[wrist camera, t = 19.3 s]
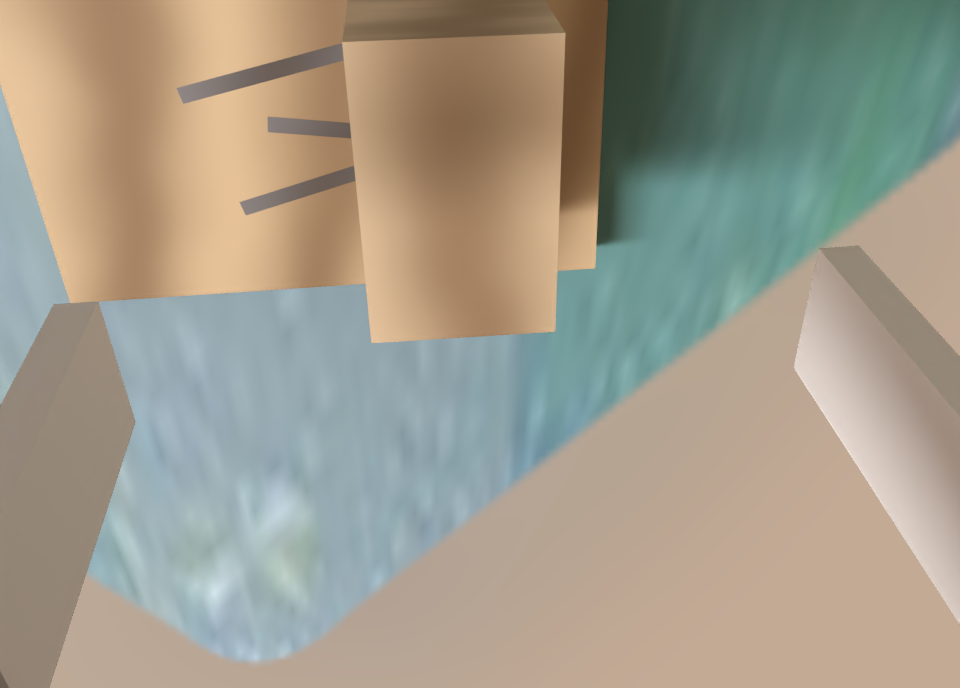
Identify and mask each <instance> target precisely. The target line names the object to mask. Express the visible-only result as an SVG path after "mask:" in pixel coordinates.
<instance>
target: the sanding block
mask: <svg viewBox="0 0 960 688" xmlns="http://www.w3.org/2000/svg"><path fill="white" fill-rule="evenodd" d="M342 47H343V57H344V67H345V77H346V88H347V98H348V108H349V118H350V129H351V139H352V149H353V159H354V169H355V180H356V190H357V200H358V210H359V221H360V231H361V241H362V251H363V262H364V272H365V282H366V292H367V302H368V313H369V323H370V333H371V343H380V342H396V341H413V340H429V339H445V338H461V337H477V336H493V335H509V334H525V333H541V332H555V321H556V292H557V263H558V235H559V206H560V177H561V148H562V119H563V90H564V61H565V31H564V30H563V28H562V27H561V25H560V23H559V22H558V20H557V18H556V17H555V15H554V14H553V12H552V10H551V9H550V7H549V5H548V4H547V2H546V1H545V0H347V8H346V16H345V23H344V31H343V39H342Z"/></svg>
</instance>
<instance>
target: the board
mask: <svg viewBox="0 0 960 688" xmlns="http://www.w3.org/2000/svg"><path fill="white" fill-rule="evenodd" d="M545 1H546V2H547V4H548V5H549V7H550V9H551V10H552V12H553V14H554V15H555V17H556V18H557V20H558V22H559V23H560V25H561V27H562V28H563V30H564V31H565V61H564V90H563V119H562V148H561V177H560V206H559V235H558V263H557V271H561V270H576V269H591V268H595V261H596V240H597V220H598V199H599V178H600V158H601V137H602V117H603V96H604V76H605V55H606V34H607V14H608V0H545ZM346 8H347V0H0V84H1V88H2V91H3V94H4V97H5V100H6V103H7V106H8V109H9V113H10V116H11V119H12V122H13V125H14V128H15V131H16V134H17V138H18V141H19V144H20V147H21V150H22V153H23V156H24V159H25V163H26V166H27V169H28V172H29V175H30V178H31V181H32V185H33V188H34V191H35V194H36V197H37V200H38V203H39V206H40V210H41V213H42V216H43V219H44V222H45V225H46V228H47V231H48V235H49V238H50V241H51V244H52V247H53V250H54V253H55V256H56V260H57V263H58V266H59V269H60V272H61V275H62V278H63V281H64V285H65V288H66V291H67V294H68V297H69V300H70V303H80V302H94V301H112V300H127V299H142V298H157V297H172V296H187V295H202V294H217V293H232V292H247V291H262V290H277V289H292V288H307V287H322V286H337V285H352V284H366V282H365V272H364V262H363V251H362V241H361V231H360V221H359V210H358V200H357V190H356V180H355V169H354V159H353V149H352V139H351V129H350V118H349V108H348V98H347V88H346V77H345V67H344V57H343V47H342V39H343V31H344V23H345V16H346Z"/></svg>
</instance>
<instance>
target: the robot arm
mask: <svg viewBox="0 0 960 688" xmlns="http://www.w3.org/2000/svg"><path fill="white" fill-rule="evenodd" d="M794 369H795V370H796V372H797V374H798V375H799V377H800V378H801V380H802V381H803V383H804V384H805V386H806V387H807V389H808V391H809V392H810V394H811V395H812V397H813V398H814V400H815V401H816V403H817V404H818V406H819V408H820V409H821V410H822V412H823V414H824V415H825V417H826V418H827V420H828V421H829V423H830V425H831V426H832V428H833V429H834V431H835V432H836V434H837V435H838V437H839V438H840V440H841V442H842V443H843V445H844V446H845V448H846V449H847V451H848V452H849V454H850V455H851V457H852V459H853V460H854V462H855V463H856V465H857V466H858V468H859V469H860V471H861V472H862V474H863V475H864V477H865V479H866V480H867V482H868V483H869V485H870V486H871V488H872V489H873V491H874V492H875V494H876V495H877V497H878V498H879V500H880V502H881V503H882V505H883V506H884V508H885V509H886V511H887V512H888V514H889V516H890V517H891V519H892V520H893V522H894V523H895V525H896V527H897V528H898V530H899V531H900V533H901V534H902V536H903V537H904V539H905V540H906V542H907V544H908V545H909V547H910V548H911V550H912V551H913V553H914V554H915V556H916V557H917V559H918V561H919V562H920V564H921V565H922V567H923V568H924V570H925V571H926V573H927V574H928V576H929V577H930V579H931V581H932V582H933V584H934V585H935V587H936V588H937V590H938V591H939V593H940V595H941V596H942V598H943V599H944V601H945V602H946V604H947V605H948V607H949V608H950V610H951V611H952V613H953V615H954V616H955V618H956V619H957V621H958V622H959V624H960V356H959V355H958V354H957V353H956V352H955V350H954V349H953V348H952V347H951V346H950V345H949V344H948V343H947V342H946V341H945V339H944V338H943V337H942V336H941V335H940V334H939V333H938V332H937V331H936V330H935V329H934V328H933V326H932V325H931V324H930V323H929V322H928V321H927V320H926V319H925V318H924V317H923V316H922V314H921V313H920V312H919V311H918V310H917V309H916V308H915V307H914V306H913V305H912V303H911V302H910V301H909V300H908V299H907V298H906V297H905V296H904V295H903V294H902V292H900V290H899V289H898V288H897V287H896V286H895V285H894V284H893V283H892V282H891V280H890V279H889V278H888V277H887V276H886V275H885V274H884V273H883V272H882V271H881V270H880V269H879V267H878V266H877V265H876V264H875V263H874V262H873V261H872V260H871V259H870V258H869V256H868V255H867V254H866V253H865V252H864V251H863V250H862V249H861V248H860V247H859V246H847V247H835V248H834V247H833V248H819V250H818V255H817V260H816V265H815V269H814V274H813V279H812V284H811V288H810V293H809V298H808V303H807V307H806V312H805V317H804V321H803V326H802V331H801V336H800V340H799V346H798V350H797V355H796V360H795V365H794ZM134 425H135V419H134V415H133V412H132V409H131V406H130V403H129V399H128V396H127V393H126V390H125V386H124V383H123V380H122V377H121V373H120V370H119V367H118V364H117V360H116V357H115V354H114V351H113V348H112V344H111V341H110V338H109V335H108V331H107V328H106V325H105V322H104V318H103V315H102V312H101V309H100V306H99V302H98V301H94V302H80V303H66V304H54V305H53V307H52V308H51V310H50V312H49V314H48V316H47V318H46V320H45V322H44V324H43V326H42V328H41V329H40V331H39V333H38V335H37V337H36V339H35V341H34V343H33V345H32V347H31V348H30V350H29V352H28V354H27V356H26V358H25V360H24V362H23V364H22V366H21V368H20V369H19V371H18V373H17V375H16V377H15V379H14V381H13V383H12V385H11V387H10V388H9V390H8V392H7V394H6V396H5V398H4V400H3V402H2V404H1V406H0V688H49V687H50V684H51V681H52V678H53V675H54V672H55V669H56V666H57V662H58V659H59V656H60V653H61V650H62V647H63V644H64V641H65V638H66V634H67V631H68V629H69V625H70V622H71V619H72V616H73V613H74V610H75V607H76V604H77V601H78V597H79V595H80V591H81V588H82V585H83V582H84V579H85V576H86V573H87V570H88V567H89V564H90V561H91V558H92V554H93V551H94V548H95V545H96V542H97V539H98V536H99V533H100V530H101V527H102V524H103V520H104V517H105V514H106V511H107V508H108V505H109V502H110V499H111V496H112V493H113V490H114V487H115V483H116V480H117V477H118V474H119V471H120V468H121V465H122V462H123V459H124V456H125V453H126V449H127V446H128V443H129V440H130V437H131V434H132V431H133V428H134Z"/></svg>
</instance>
